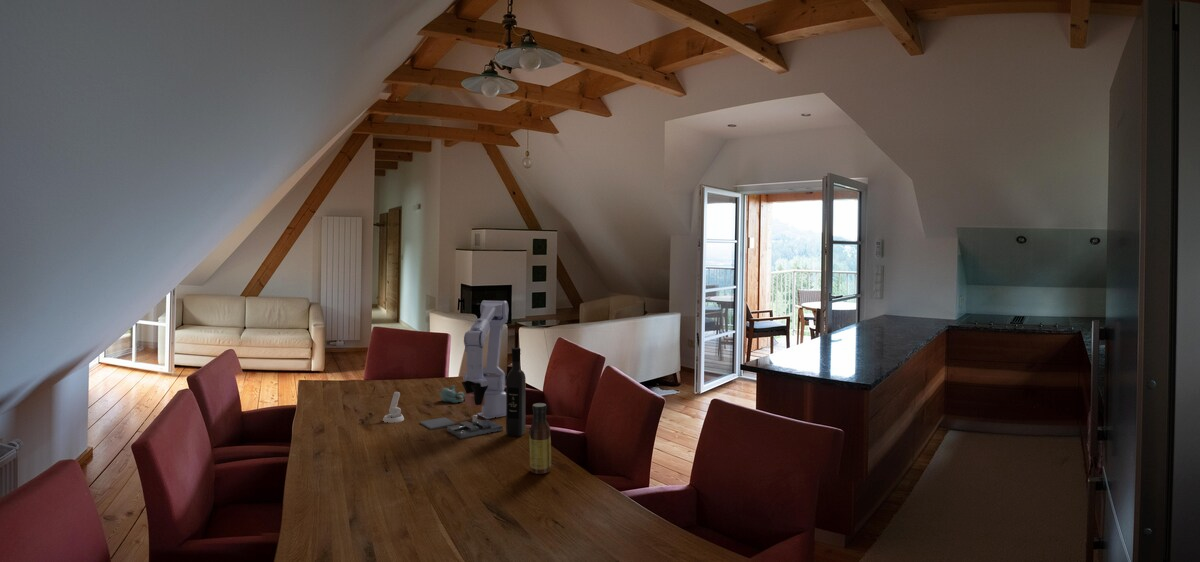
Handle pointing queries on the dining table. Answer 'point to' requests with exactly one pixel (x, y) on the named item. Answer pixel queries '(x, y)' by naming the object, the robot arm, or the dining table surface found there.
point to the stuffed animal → (451, 395)
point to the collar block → (472, 400)
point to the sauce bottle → (539, 441)
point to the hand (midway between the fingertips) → (474, 403)
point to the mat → (438, 423)
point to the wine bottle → (515, 397)
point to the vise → (474, 428)
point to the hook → (394, 410)
